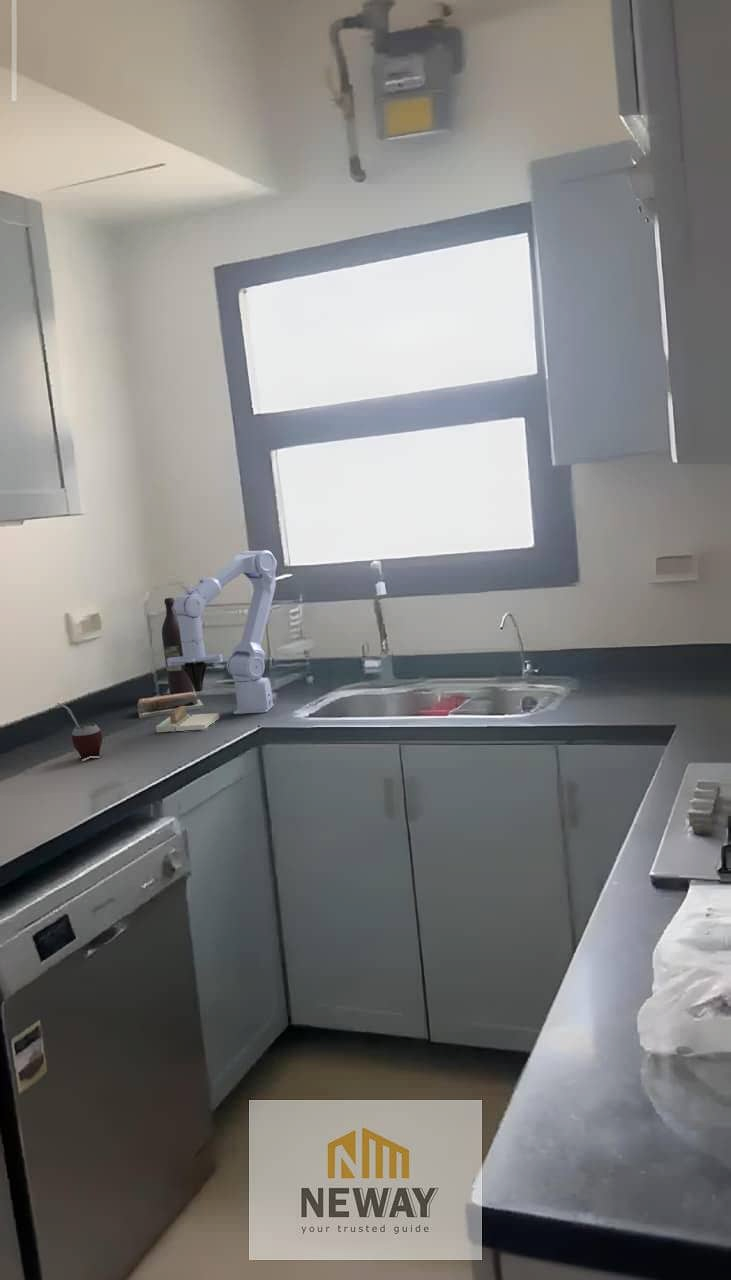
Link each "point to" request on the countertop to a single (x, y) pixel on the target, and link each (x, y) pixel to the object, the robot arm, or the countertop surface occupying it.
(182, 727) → the block
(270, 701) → the robot arm
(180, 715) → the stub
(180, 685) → the wine bottle
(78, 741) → the mate gourd
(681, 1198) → the countertop surface
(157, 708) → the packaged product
